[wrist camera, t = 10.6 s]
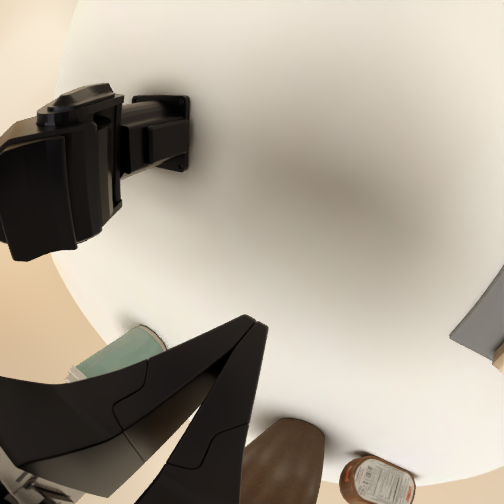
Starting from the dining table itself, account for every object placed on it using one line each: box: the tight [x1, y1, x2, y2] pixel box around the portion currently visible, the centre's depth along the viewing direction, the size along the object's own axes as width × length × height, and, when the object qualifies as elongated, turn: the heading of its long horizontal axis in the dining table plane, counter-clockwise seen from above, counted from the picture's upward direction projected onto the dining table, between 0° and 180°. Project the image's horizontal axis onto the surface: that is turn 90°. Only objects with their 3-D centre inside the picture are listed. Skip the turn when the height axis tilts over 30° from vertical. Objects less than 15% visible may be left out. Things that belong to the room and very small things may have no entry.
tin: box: [339, 456, 416, 504], centre depth 29 cm, size 15×3×8 cm, turn 65°
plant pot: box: [240, 418, 324, 504], centre depth 30 cm, size 15×15×16 cm
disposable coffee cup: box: [65, 325, 166, 383], centre depth 37 cm, size 11×11×15 cm
